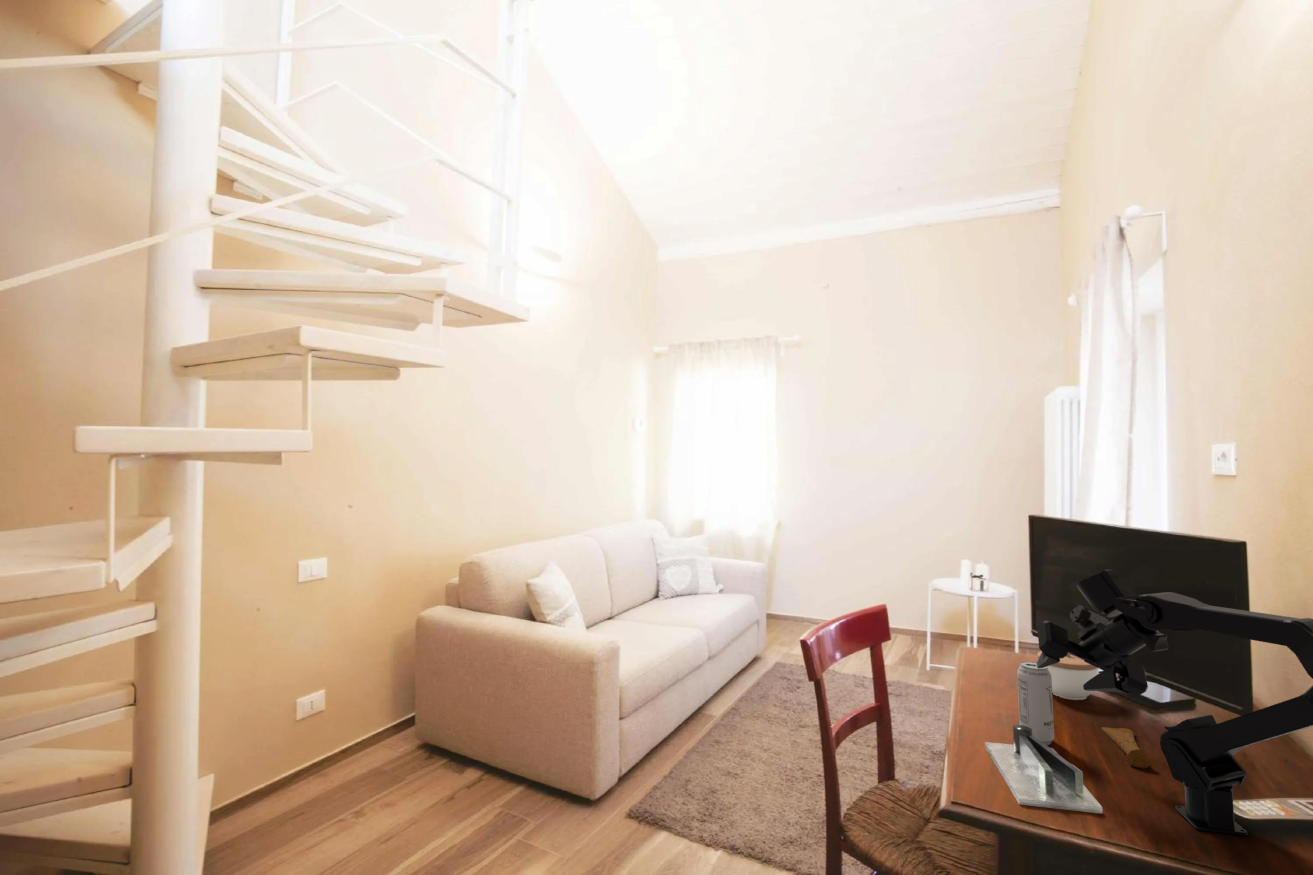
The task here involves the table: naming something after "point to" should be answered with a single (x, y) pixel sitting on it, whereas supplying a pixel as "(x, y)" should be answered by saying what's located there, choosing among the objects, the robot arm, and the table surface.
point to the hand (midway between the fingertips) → (1060, 676)
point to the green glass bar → (1059, 766)
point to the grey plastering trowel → (1036, 776)
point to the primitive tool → (1129, 746)
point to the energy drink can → (1036, 700)
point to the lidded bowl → (1071, 677)
